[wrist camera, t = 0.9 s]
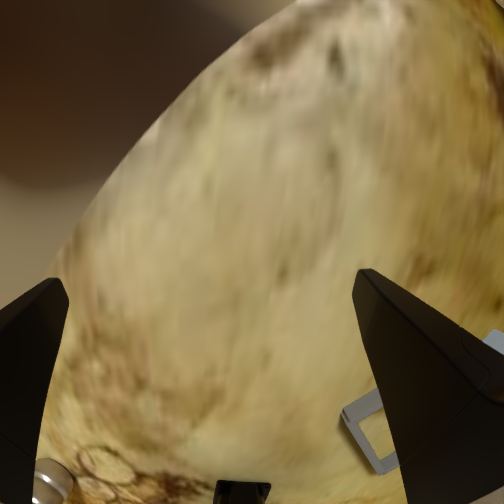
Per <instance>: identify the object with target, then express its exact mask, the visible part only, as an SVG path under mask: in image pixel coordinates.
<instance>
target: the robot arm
mask: <svg viewBox="0 0 504 504" xmlns="http://www.w3.org/2000/svg"><path fill="white" fill-rule="evenodd" d="M352 299H353V303H354V307H355V311H356V316H357V320H358V324H359V329H360V333H361V337H362V341H363V345H364V348H365V351H366V354H367V357H368V360H369V363H370V366H371V369H372V372H373V375H374V378H375V381H376V384H377V387H378V391H379V394H380V397H381V400H382V404H383V407H384V410H385V414H386V417H387V421H388V424H389V428H390V431H391V435H392V439H393V442H394V446H395V450H396V454H397V458H398V462H399V465H400V471H401V475H402V479H403V484H404V488H405V493H406V497H407V502H408V504H504V355H503V354H502V353H500V352H498V351H497V350H495V349H494V348H492V347H490V346H489V345H487V344H486V343H484V342H482V341H481V340H480V339H478V338H477V337H475V336H474V335H472V334H471V333H469V332H468V331H466V330H465V329H464V328H462V327H460V326H459V325H458V324H456V323H455V322H453V321H452V320H450V319H449V318H447V317H446V316H444V315H443V314H441V313H440V312H439V311H437V310H436V309H434V308H433V307H431V306H429V305H428V304H426V303H425V302H423V301H422V300H420V299H419V298H417V297H416V296H414V295H413V294H411V293H410V292H408V291H407V290H405V289H403V288H402V287H400V286H399V285H397V284H396V283H394V282H392V281H391V280H389V279H388V278H386V277H385V276H383V275H381V274H380V273H378V272H377V271H375V270H373V269H371V268H369V269H360V270H358V272H357V274H356V279H355V283H354V287H353V291H352ZM68 307H69V298H68V296H67V293H66V291H65V289H64V286H63V284H62V281H61V280H60V279H59V278H47V279H45V280H44V281H42V282H41V283H39V284H38V285H36V286H35V287H33V288H32V289H30V290H29V291H27V292H26V293H24V294H23V295H21V296H20V297H18V298H17V299H15V300H14V301H12V302H11V303H10V304H8V305H7V306H5V307H4V308H3V309H1V310H0V504H33V486H34V474H35V464H36V460H35V459H36V454H37V447H38V440H39V434H40V428H41V422H42V417H43V412H44V407H45V402H46V397H47V393H48V389H49V385H50V381H51V377H52V373H53V369H54V365H55V362H56V358H57V354H58V351H59V347H60V343H61V339H62V334H63V329H64V324H65V320H66V316H67V312H68ZM270 489H271V484H270V483H254V482H237V481H226V480H218V481H217V483H216V489H215V494H214V499H213V504H265V501H266V499H267V496H268V494H269V491H270Z"/></svg>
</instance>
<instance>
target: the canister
mask: <svg viewBox="0 0 504 504" xmlns="http://www.w3.org/2000/svg"><path fill="white" fill-rule="evenodd" d="M495 1H496V2H497V3H498V4H499V5H500V6H502V7H503V8H504V0H495Z"/></svg>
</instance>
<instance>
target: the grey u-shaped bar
mask: <svg viewBox="0 0 504 504" xmlns="http://www.w3.org/2000/svg"><path fill="white" fill-rule="evenodd" d="M382 407H383V404H382V400H381V397H380V394H379V391H378V387H377V388H376V389H374V390H373V391H371V392H369V393H368V394H366V395H365V396H363V397H361V398H360V399H358V400H356V401H355V402H353V403H351V404H350V405H348V406H346V407H344V408H343V409H344V412H342V413H341V415H342V417H343V419H344V421H345V423H346V425H347V427H348V428H349V430H350V431H351V433H352V435H353V436H354V438H355V439H356V441H357V443H358V444H359V446H360V447H361V449H362V450H363V452H364V454H365V455H366V457H367V458H368V460H369V462H370V463H371V465H372V466H373V468H374V469H375V471H376V473H377V474H378V476H380V475H382V474H383V475H385V474H387V473H389V472H390V471H392V470H394V469H396V468H397V467H399V466H400V465H399V462H398V458H397V454H396V451H395V452H394V453H392V454H391V455H389V456H387V457H386V458H384V459H382V460H380V461H379V459H378V457H377V456H376V454H375V452H374V450H373V449H372V447H371V445H370V444H369V442H368V440H367V438H366V437H365V435H364V433H363V432H362V430H361V428H360V426H359V425H358V423H357V422H359V421H360V420H362V419H364V418H365V417H367V416H369V415H370V414H372V413H374V412H375V411H377V410H378V409H380V408H382Z"/></svg>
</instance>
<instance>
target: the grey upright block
mask: <svg viewBox="0 0 504 504" xmlns="http://www.w3.org/2000/svg"><path fill="white" fill-rule="evenodd" d="M482 342H484V343H486V344H487V345H489V346H490V347H492V348H494V349H495V350H497V351H498V352H500V353H502V354H503V355H504V333H502V332H500V331H498V330H496V329H494V330H493V331H492V332H491V333H490V334H489V335H488V336H487V337H486V338H484V339H483V340H482Z"/></svg>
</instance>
